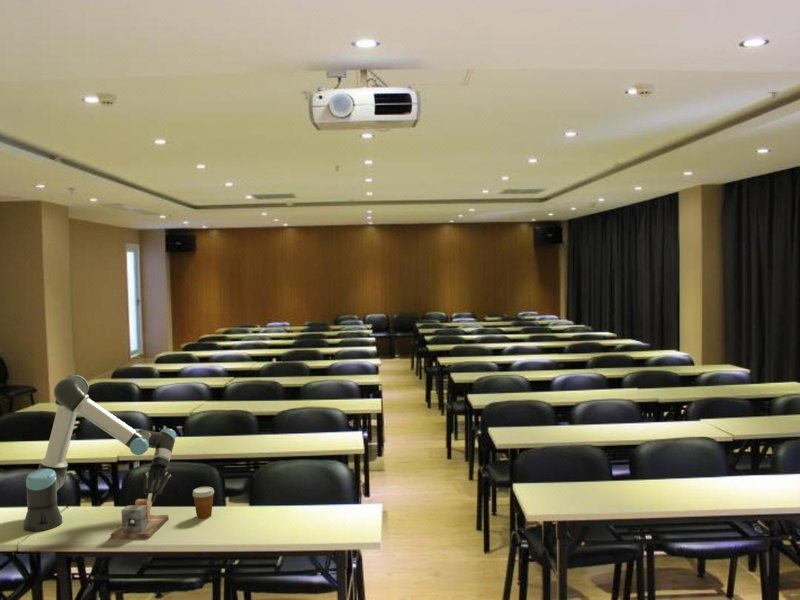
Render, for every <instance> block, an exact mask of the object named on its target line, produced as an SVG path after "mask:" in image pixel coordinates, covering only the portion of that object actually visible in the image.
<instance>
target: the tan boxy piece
mask: <svg viewBox="0 0 800 600" xmlns="http://www.w3.org/2000/svg"><path fill="white" fill-rule="evenodd" d="M134 505H146V512H147V522H148V521H149V520H150V515H151V509H150V499H146V498H137V499H136V500H135V503H134ZM129 524H130V525H134V524H135V519H131V520H130V521H129Z"/></svg>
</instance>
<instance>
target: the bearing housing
mask: <svg viewBox="0 0 800 600" xmlns="http://www.w3.org/2000/svg"><path fill="white" fill-rule="evenodd" d="M169 518H170V517H169V514H160V515H158V514H157V515H156V514H155V515H151V514H150V520H149V521H148V522H147V512H146V505H135V504H133V505H126V506H125V507H124V508H123V509H121V525H120V526H119V527H117V528H116V529H115V530H113V532H111V533H110V539H111V540H117V539H118V540H120V539H121V540H123V539H126V540H127V539H128V540H134V539H135V540H136V539H137V540H141V539H142V540H143V539H150V538H151V537H152V536H153V535H155V533H156V532H157V531H159V529H160V528H162V527H163V525H164V524H165V523H167V522H169ZM131 519H135V524H134V525H130V524H129V521H130V520H131Z"/></svg>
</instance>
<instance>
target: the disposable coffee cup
mask: <svg viewBox="0 0 800 600" xmlns="http://www.w3.org/2000/svg"><path fill="white" fill-rule="evenodd" d="M214 493H215V490H214V488H213V487H211V486H200V487H197V488H195V489H193V490H192V497H193V501H194V506H195V513H196V518H198V519H200V518H201V519H203V518H204V519H208V518H211V517H212V513H213V512H212V511H213V502H214ZM204 519H203V520H204Z"/></svg>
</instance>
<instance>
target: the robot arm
mask: <svg viewBox="0 0 800 600" xmlns="http://www.w3.org/2000/svg"><path fill="white" fill-rule="evenodd" d="M89 388H90V386H89V383H88V381H87V380H86V379H85V378H84V376H81V375H78V374H77V375H76V374H73V375H72V374H71V375H68V376H66V377H65V378H63V379H61V380H59V381H58V383H56V385H55V386H54V389H53V396H54V398H55V402H54V404H55V405H56V407H57V408H56V413H55V417H54V420H53V425H52V429H51V432H50V436H49V440H48V445H47V449H46V452H45V456H44V458H43V459H41V460H40V461H39V465H38V469H37V470H33V471H31V472H30V473H28V474H27V475H26V480H25V486H26V505H27V506H26V507H27V511H26V514H25V519H24V521H23V530H25V531H27V532H39V531H46V530H52V529H54V528H56V527H59V526H61V525H62V524H63V516H62V514H61V511H60V509H59V507H58V494H57V493H58V490H60V489H61V488H62V487H63V486H64V485H65V483H66V480H67V476H68V474H67V473H68V472H67V469H68V466H69V464H68V462H67V461H66V459H67V455H68V451H69V447H70V443H71V438H72V435H73V431H74V428H75V425H76V424H75V423H76V419H77V414H79V415H80V416H82V417H83V418H85V419H86V420H88V421H89V422H91V423H92V424H93V425H95V426H97V427H98V428H100V429H101V430H102V431H104V432H105V433H107V434H108V435H109V436H111V437H113V438H115V439H116V440H117V441H119V442H120V443H121V444H123V445H124V446H126V447H127V448H129V450H130V452H131V453H132V454H133V455H135V456H141V455H144V454H145V453H146V452H147V451H148V449H154V453H153V455H152V461H151V464H150V468H149V469H148V471H147V472H146V473H145V472H143V473H142V477H143V491H142V492H143V493H144V495H145V499H150V510H151V509H152V505H153V503H154V502H155V501H156V499H157V498H156V497H157V495H161V494H162V493H163V491H164V489H165V487H166V485H167V483H168V481H169V479H171V478H172V474H171V473H170V472H168V468H169V465H170V460H171V456H172V452H173V449H174V446H175V443H176V437H177V433H176V431H175V430H173V429H172V428H162V429H161V430H160V431H159V432H157V431H153V430H146V429H143V428H133V427H131V426H130V425H128V424H127V423H126V422H124V421H123V420H121V419H120V418H118V417H116V416H115V415H114V414H112V413H111V412H110V411H108V410H107V409H105V408H104V407H102V406H101V405H99V404H98V403H96V402H95V401H94V400H92V399H91V398H90V396H89V394H88V393H89ZM149 477H150V478H149ZM149 479H150V480H149Z"/></svg>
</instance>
